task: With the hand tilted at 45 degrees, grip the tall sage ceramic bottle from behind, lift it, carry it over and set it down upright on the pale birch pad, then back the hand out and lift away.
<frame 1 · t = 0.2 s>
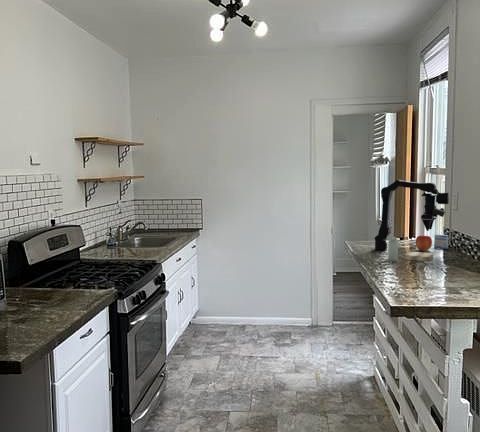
hand: (429, 230, 282), 15 cm above the countertop, tool pointing down, fingers open, 9 cm apart
birch pad: (419, 258, 270), on the countertop
medicine box: (440, 248, 305), on the countertop
sage bottle: (392, 260, 265), on the countertop
apple: (423, 251, 295), on the countertop
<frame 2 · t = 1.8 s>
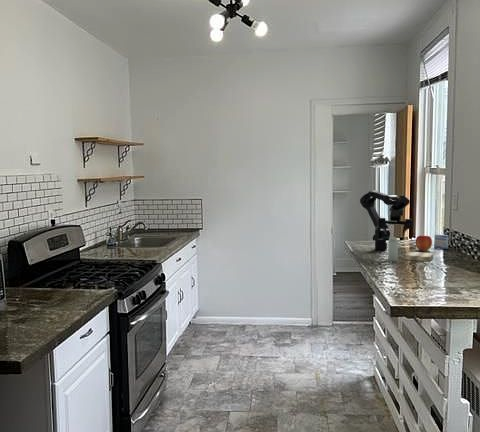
hand: (394, 234, 272), 13 cm above the countertop, tool tilted 45°, fingers open, 9 cm apart
nothing on the countertop moved.
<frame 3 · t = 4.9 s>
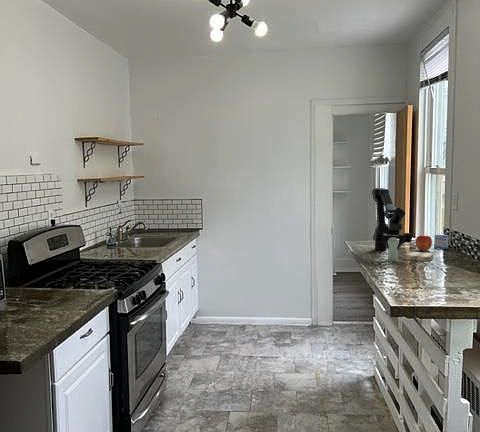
hand: (393, 249, 263), 7 cm above the countertop, tool tilted 45°, fingers closed on sage bottle, 5 cm apart
sage bottle: (392, 260, 265), on the countertop, touching gripper
everything else where it was.
when the fingers open (10 cm above the countertop, at t = 8.2 s): sage bottle drops 1 cm, resting on birch pad.
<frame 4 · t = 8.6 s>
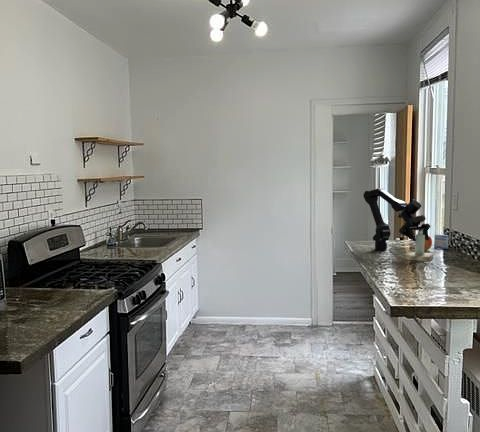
hand: (421, 240, 268), 11 cm above the countertop, tool tilted 45°, fingers open, 9 cm apart
sage bottle: (419, 254, 270), point 3 cm above the countertop, touching birch pad
everything else where it was.
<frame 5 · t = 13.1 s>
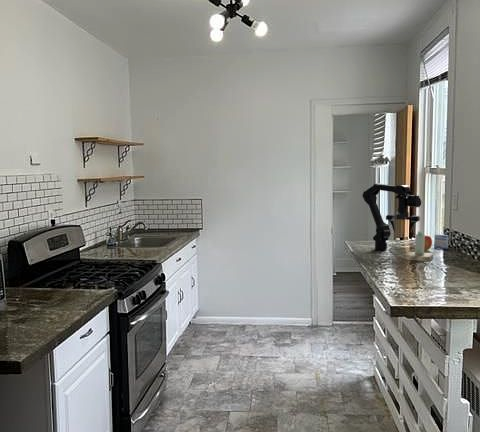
hand: (402, 232, 285), 13 cm above the countertop, tool pointing down, fingers open, 9 cm apart
nothing on the countertop moved.
at the end: sage bottle inside the target area on the birch pad (0.1 cm from its centre), point 2.6 cm above the birch pad's base; sage bottle tilted 1°; the gripper is holding nothing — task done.
